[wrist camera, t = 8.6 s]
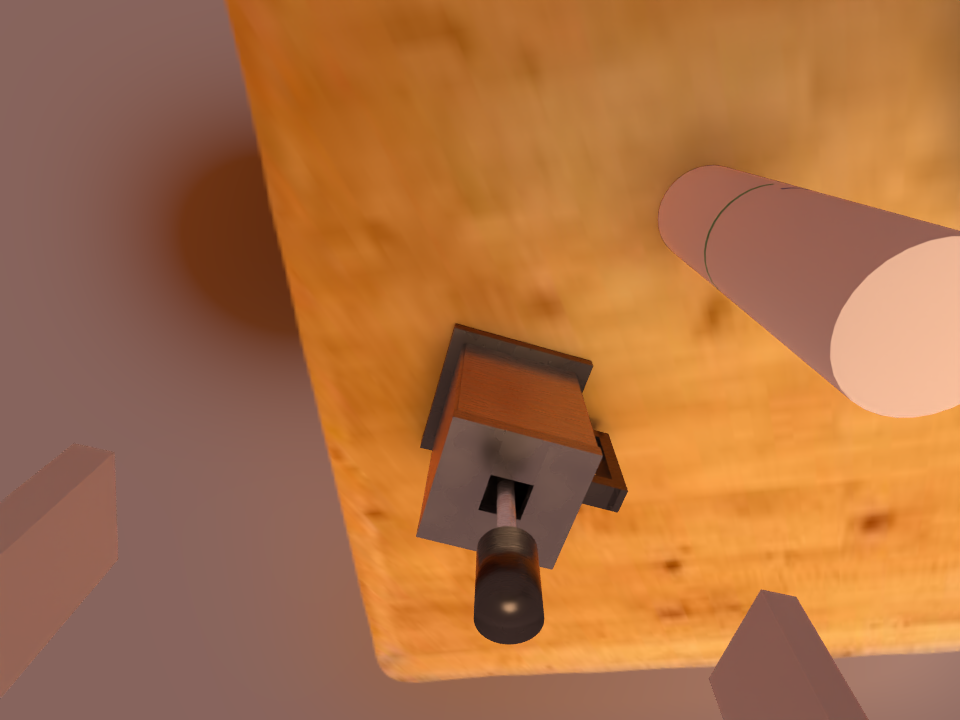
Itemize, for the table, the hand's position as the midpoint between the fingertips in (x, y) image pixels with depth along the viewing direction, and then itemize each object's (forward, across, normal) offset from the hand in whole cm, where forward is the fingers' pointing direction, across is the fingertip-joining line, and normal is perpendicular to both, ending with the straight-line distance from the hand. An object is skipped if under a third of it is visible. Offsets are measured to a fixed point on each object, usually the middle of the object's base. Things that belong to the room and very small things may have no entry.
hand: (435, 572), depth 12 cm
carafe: (+36, +7, -15) cm, 40 cm away
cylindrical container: (+37, +16, +5) cm, 40 cm away
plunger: (+34, +5, -15) cm, 38 cm away
